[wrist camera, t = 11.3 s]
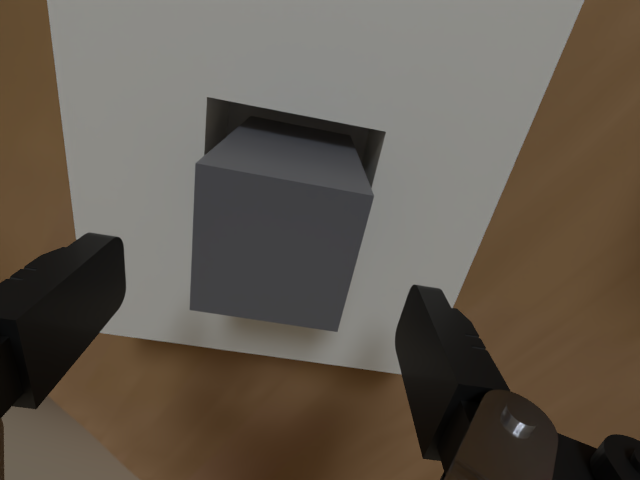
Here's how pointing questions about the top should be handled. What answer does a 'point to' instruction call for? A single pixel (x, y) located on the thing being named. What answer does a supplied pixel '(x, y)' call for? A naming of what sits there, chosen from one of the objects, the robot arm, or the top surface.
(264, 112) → the socket
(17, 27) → the top surface
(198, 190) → the plug
